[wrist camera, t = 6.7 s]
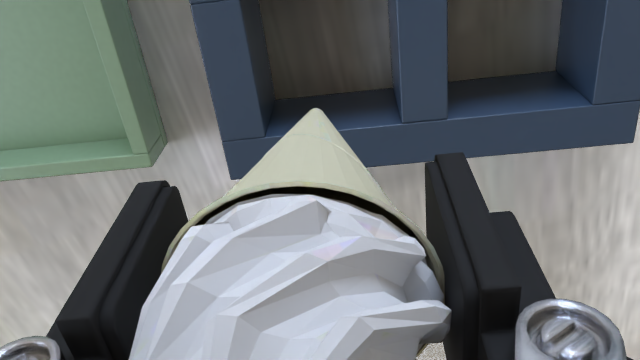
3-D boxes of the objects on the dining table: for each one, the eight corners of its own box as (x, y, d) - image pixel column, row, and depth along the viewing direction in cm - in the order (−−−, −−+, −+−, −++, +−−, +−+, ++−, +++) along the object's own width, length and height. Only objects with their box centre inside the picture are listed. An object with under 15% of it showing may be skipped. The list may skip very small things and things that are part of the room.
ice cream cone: (387, 16, 15) (733, 1050, 2) (407, 172, 17) (616, 1073, 5) (212, 49, 15) (-397, 1018, 3) (256, 195, 18) (61, 1048, 5)
